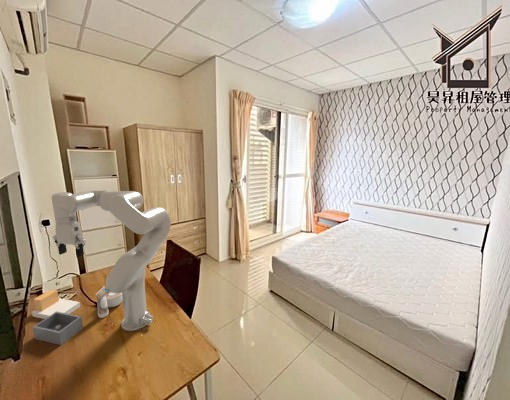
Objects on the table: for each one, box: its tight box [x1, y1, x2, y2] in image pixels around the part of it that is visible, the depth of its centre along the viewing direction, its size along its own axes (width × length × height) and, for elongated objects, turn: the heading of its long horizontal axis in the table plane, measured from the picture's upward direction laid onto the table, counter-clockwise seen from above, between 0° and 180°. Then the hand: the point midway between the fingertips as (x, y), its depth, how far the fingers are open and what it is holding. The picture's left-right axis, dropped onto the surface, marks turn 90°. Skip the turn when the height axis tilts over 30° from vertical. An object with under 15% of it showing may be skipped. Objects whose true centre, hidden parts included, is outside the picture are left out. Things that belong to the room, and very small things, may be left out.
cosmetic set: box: [95, 285, 123, 319], centre depth 121 cm, size 25×9×19 cm, turn 1°
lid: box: [31, 289, 81, 320], centre depth 115 cm, size 15×11×8 cm
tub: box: [32, 311, 84, 346], centre depth 102 cm, size 14×10×6 cm
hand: (71, 254), depth 107 cm, fingers open, 9 cm apart
